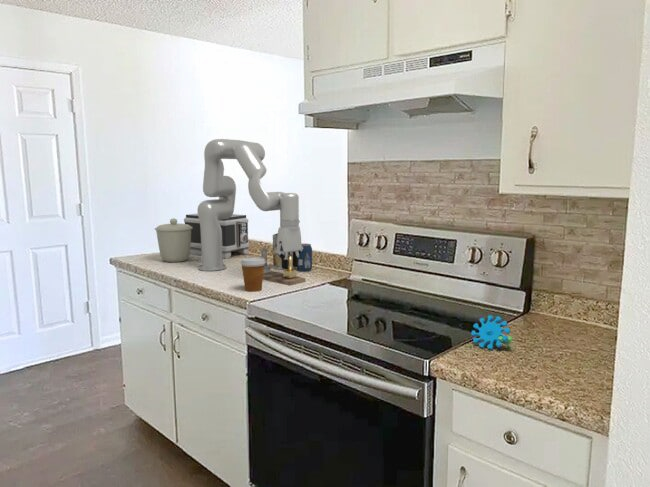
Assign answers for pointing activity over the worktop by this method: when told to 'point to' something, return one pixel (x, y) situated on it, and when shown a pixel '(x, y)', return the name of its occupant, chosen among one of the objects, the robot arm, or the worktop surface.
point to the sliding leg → (289, 269)
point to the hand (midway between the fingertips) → (289, 267)
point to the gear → (492, 333)
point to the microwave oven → (231, 235)
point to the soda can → (305, 258)
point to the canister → (174, 241)
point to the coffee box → (276, 259)
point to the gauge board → (277, 273)
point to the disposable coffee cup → (253, 273)
